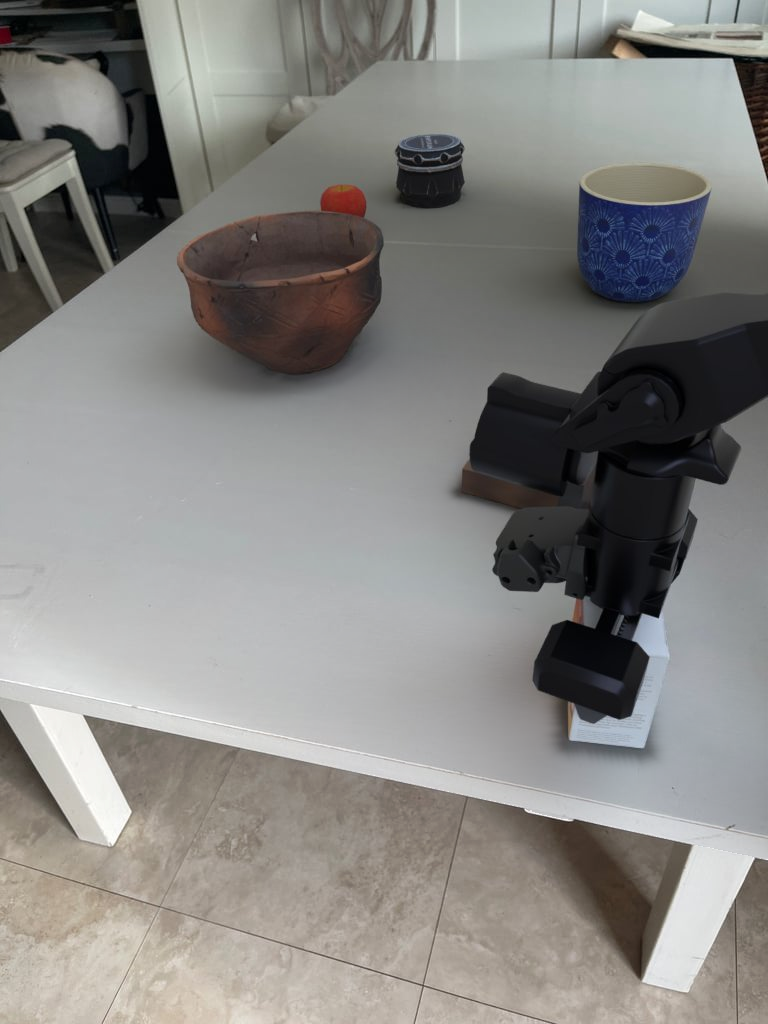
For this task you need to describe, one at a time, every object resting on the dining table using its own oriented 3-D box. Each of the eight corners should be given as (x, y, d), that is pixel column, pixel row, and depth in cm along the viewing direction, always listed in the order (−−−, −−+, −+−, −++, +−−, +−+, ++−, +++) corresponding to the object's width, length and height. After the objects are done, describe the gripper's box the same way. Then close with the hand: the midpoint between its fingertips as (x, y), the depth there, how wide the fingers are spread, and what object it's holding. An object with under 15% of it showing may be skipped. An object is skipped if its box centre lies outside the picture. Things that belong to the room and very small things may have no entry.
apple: (376, 228, 141) (374, 182, 136) (344, 242, 137) (340, 195, 132) (345, 218, 145) (342, 173, 140) (313, 232, 141) (309, 186, 136)
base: (680, 468, 84) (686, 443, 82) (634, 582, 71) (639, 556, 69) (507, 427, 91) (509, 403, 89) (438, 524, 79) (438, 499, 77)
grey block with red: (588, 459, 81) (594, 419, 78) (610, 464, 80) (616, 424, 77) (555, 517, 74) (560, 476, 71) (578, 524, 73) (584, 482, 70)
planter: (705, 279, 118) (728, 171, 109) (665, 326, 108) (687, 211, 98) (596, 258, 126) (608, 156, 117) (549, 299, 116) (558, 191, 106)
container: (385, 194, 154) (382, 139, 148) (444, 182, 158) (444, 128, 152) (415, 214, 145) (413, 156, 139) (477, 201, 149) (478, 144, 143)
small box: (565, 658, 65) (579, 563, 59) (637, 665, 64) (659, 570, 58) (566, 742, 59) (582, 647, 52) (645, 751, 58) (671, 656, 52)
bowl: (272, 299, 120) (257, 196, 111) (420, 329, 111) (418, 219, 101) (163, 377, 104) (134, 264, 94) (326, 420, 94) (312, 299, 85)
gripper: (559, 407, 59) (543, 563, 69) (456, 567, 47) (454, 729, 56) (718, 442, 55) (676, 602, 65) (651, 628, 42) (612, 792, 52)
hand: (605, 672), depth 60 cm, fingers closed on small box, 9 cm apart
